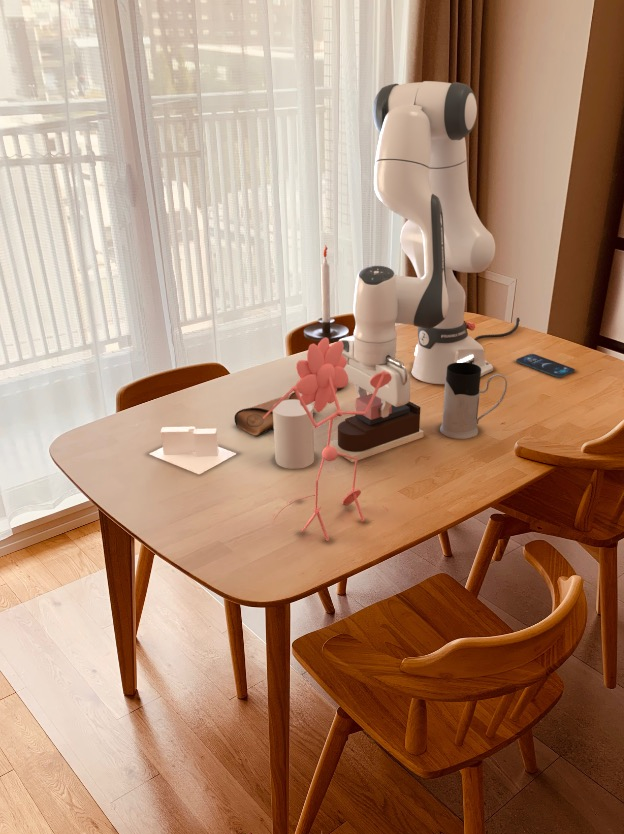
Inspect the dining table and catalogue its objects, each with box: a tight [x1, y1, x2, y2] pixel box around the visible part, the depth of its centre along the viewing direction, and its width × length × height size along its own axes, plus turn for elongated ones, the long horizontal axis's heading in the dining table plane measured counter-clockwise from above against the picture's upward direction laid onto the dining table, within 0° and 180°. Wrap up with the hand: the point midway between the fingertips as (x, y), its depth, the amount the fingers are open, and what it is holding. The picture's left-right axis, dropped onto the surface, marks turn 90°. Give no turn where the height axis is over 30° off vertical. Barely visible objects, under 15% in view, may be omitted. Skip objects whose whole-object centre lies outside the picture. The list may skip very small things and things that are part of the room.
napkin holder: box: [149, 425, 237, 475], centre depth 169 cm, size 15×11×6 cm
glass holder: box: [439, 362, 508, 440], centre depth 179 cm, size 9×14×15 cm, turn 91°
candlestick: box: [303, 244, 350, 393], centre depth 193 cm, size 11×11×35 cm
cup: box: [273, 399, 315, 470], centre depth 166 cm, size 8×8×12 cm
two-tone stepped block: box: [354, 393, 410, 425], centre depth 173 cm, size 11×5×4 cm, turn 128°
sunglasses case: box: [234, 391, 316, 437], centre depth 185 cm, size 18×7×7 cm, turn 135°
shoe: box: [329, 400, 425, 463], centre depth 175 cm, size 20×8×8 cm, turn 129°
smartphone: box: [515, 353, 576, 378], centre depth 216 cm, size 8×1×15 cm
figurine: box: [263, 337, 392, 542], centre depth 141 cm, size 15×26×35 cm, turn 137°
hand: (373, 410), depth 172 cm, fingers closed on two-tone stepped block, 5 cm apart
